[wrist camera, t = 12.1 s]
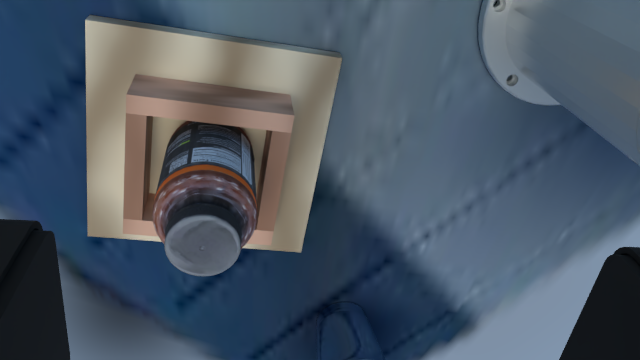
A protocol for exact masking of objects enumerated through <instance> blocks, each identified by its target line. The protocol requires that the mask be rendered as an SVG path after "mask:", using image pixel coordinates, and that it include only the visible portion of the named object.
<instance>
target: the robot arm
mask: <svg viewBox="0 0 640 360" xmlns="http://www.w3.org/2000/svg"><path fill="white" fill-rule="evenodd" d="M495 1H496V0H483V3H482V6H481V11H480V17H479V22H478V41H479V46H480V51H481V56H482V59H483V61H484V63H485V65H486V68H487V70H488V71H489V73H490V74H491V75H492V77H493V78H494V80H495V81H496V82H497V83H498V84H499V85H500V86H501V87H502V88H503V89H504V90H506V91H507V92H509V93H510V94H512V95H513V96H515V97H516V98H518V99H520V100H523V101H526V102H528V103H531V104H538V105H545V106H551V105H562V106H564V107H565V108H566V109H567V110H569V111H570V112H571V113H573V114H574V115H575V116H576V117H578V118H579V119H580V120H581V121H583V122H584V123H585V124H587V125H588V126H589V127H590V128H592V129H593V130H594V131H595V132H597V133H598V134H599V135H601V136H602V137H603V138H604V139H606V140H607V141H608V142H609V143H611V144H612V145H613V146H615V147H616V148H617V149H618V150H620V151H621V152H622V153H623V154H625V155H626V156H627V157H629V158H630V159H631V160H632V161H634V162H635V163H636V164H637V165H639V166H640V0H497V4H496V5H495V6H493V4H494V2H495ZM508 76H510V77H509V78H508ZM507 78H508V79H507ZM0 360H70V351H69V343H68V336H67V328H66V321H65V312H64V305H63V297H62V289H61V281H60V273H59V266H58V258H57V250H56V243H55V237H54V234H53V232H52V231H43V229H42V226H41V224H40V222H38V221H28V220H5V219H0ZM559 360H640V248H639V247H622V248H619V249H618V250H616V251H615V252H614V254H613V255H610V256H609V257H607V259H606V260H605V262H604V265H603V267H602V269H601V271H600V273H599V275H598V277H597V279H596V281H595V284H594V286H593V288H592V290H591V293H590V294H589V297H588V299H587V301H586V303H585V305H584V307H583V310H582V312H581V314H580V316H579V318H578V320H577V323H576V325H575V327H574V329H573V331H572V333H571V335H570V337H569V340H568V342H567V344H566V346H565V348H564V350H563V353H562V355H561V357H560V359H559Z"/></svg>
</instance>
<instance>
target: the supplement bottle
mask: <svg viewBox="0 0 640 360" xmlns="http://www.w3.org/2000/svg"><path fill="white" fill-rule="evenodd" d="M254 160H255V158H254V154H253V149H252V145H251V142H250V140H249V138H248V136H247V135H246V133H245V132H244V131H243V130H242V129H241V128H240V127H237V126H229V125H220V124H212V123H204V122H195V121H187V122H185V123H183V124H182V125H181V126H180V127H179V128H177V129H176V130H175V132H174V133H173V134H172V136H171V138H170V140H169V143H168V145H167V149H166V152H165V156H164V161H163V165H162V169H161V174H160V178H159V182H158V186H157V190H156V194H155V199H154V204H153V214H152V216H153V224H154V228H155V231H156V233H157V235H158V237H159V238H160V240H161V241H162V242H163V243H164V247H165V252H166V255H167V257H168V259H169V260H170V262H171V263H172V264H173V265H174V266H175V267H176V268H178V269H179V270H181V271H183V272H185V273H188V274H191V275H195V276H212V275H215V274H218V273H221V272H223V271H225V270H227V269H228V268H229V267H231V266H232V265H233V264H234V262H235V261H236V260H237V258H238V256H239V254H240V250H241V248H242V247H243V246H245V245H246V243H247V242H248V241H249V239H250V238H251V236H252V234H253V232H254V230H255V227H256V223H257V200H256V198H257V197H256V183H255V166H254Z"/></svg>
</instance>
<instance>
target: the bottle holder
mask: <svg viewBox="0 0 640 360" xmlns="http://www.w3.org/2000/svg"><path fill="white" fill-rule="evenodd" d="M85 34H86V123H87V212H88V236H95V237H108V238H121V239H134V240H147V241H160V242H162V241H161V240H160V238H159V237H158V235H157V233H156V231H155V228H154V224H153V216H152V214H153V204H154V199H155V194H156V190H157V186H158V182H159V178H160V174H161V169H162V165H163V161H164V156H165V152H166V149H167V145H168V143H169V140H170V138H171V136H172V134H173V133H174V132H175V130H176V129H177V128H179V127H180V126H181V125H182V124H183V123H185V122H187V121H195V122H204V123H212V124H220V125H229V126H237V127H240V128H241V129H242V130H243V131H244V132H245V133H246V135H247V136H248V138H249V140H250V142H251V145H252V149H253V154H254V158H255V160H254V166H255V183H256V197H257V198H256V200H257V223H256V227H255V230H254V232H253V234H252V236H251V238H250V239H249V241H248V242H247V243H246V245H245V246H243V247H242V248H250V249H263V250H276V251H289V252H301V250H302V245H303V240H304V236H305V231H306V226H307V222H308V217H309V212H310V208H311V203H312V198H313V193H314V189H315V184H316V179H317V175H318V170H319V165H320V161H321V156H322V151H323V147H324V142H325V137H326V133H327V128H328V123H329V119H330V114H331V109H332V104H333V100H334V95H335V90H336V86H337V81H338V76H339V72H340V67H341V62H342V57H341V55H340V53H338V52H332V51H325V50H319V49H312V48H305V47H299V46H292V45H286V44H279V43H272V42H266V41H259V40H253V39H246V38H239V37H233V36H226V35H220V34H213V33H206V32H200V31H193V30H187V29H180V28H173V27H167V26H160V25H154V24H147V23H140V22H134V21H127V20H121V19H114V18H107V17H101V16H94V15H89V16H88V17H87V19H86V20H85Z"/></svg>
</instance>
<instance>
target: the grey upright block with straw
mask: <svg viewBox="0 0 640 360" xmlns="http://www.w3.org/2000/svg"><path fill="white" fill-rule="evenodd" d="M316 326H317V332H316V353H317V360H386V359H385V357H384V355H383V353H382V350H381V348H380V346H379V343H378V341H377V339H376V337H375V334H374V332H373V330H372V328H371V325H370V323H369V321H368V319H367V318H366V314H365V312H364V310H363V309H362V308H361V307H360V306H358V305H356V304H354V303H350V302H339V303H335V304H332V305H330V306H328V307H326V308H325V309H323V310H322V311H321V313H320V314H319V315H318V317H317V320H316Z"/></svg>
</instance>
